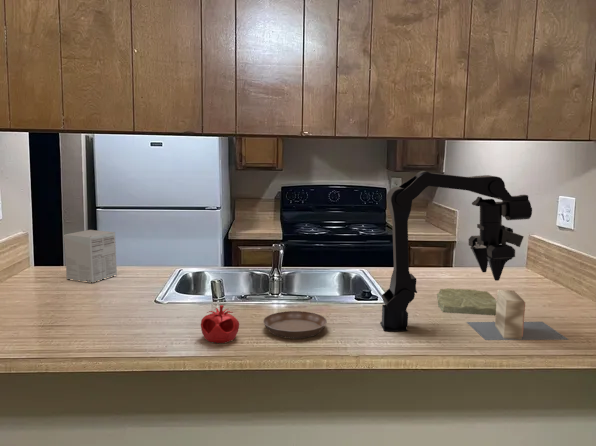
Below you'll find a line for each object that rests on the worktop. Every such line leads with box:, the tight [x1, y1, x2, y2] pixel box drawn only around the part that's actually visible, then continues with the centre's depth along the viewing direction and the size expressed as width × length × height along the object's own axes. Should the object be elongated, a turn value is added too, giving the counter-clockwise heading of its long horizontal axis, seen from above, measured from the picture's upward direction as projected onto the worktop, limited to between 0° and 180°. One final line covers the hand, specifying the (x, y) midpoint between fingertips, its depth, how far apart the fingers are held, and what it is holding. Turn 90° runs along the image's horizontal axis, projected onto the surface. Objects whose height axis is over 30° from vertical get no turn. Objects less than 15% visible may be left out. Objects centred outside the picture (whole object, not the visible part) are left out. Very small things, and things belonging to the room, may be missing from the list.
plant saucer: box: [262, 310, 327, 339], centre depth 145 cm, size 18×18×3 cm
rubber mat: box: [466, 321, 570, 341], centre depth 144 cm, size 22×14×1 cm, turn 92°
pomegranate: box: [200, 304, 240, 344], centre depth 137 cm, size 10×10×9 cm
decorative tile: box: [436, 288, 497, 316], centre depth 167 cm, size 19×20×4 cm
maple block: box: [494, 289, 526, 339], centre depth 142 cm, size 5×10×10 cm, turn 172°
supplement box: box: [63, 229, 118, 282], centre depth 197 cm, size 13×13×18 cm
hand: (490, 276), depth 145 cm, fingers open, 9 cm apart
